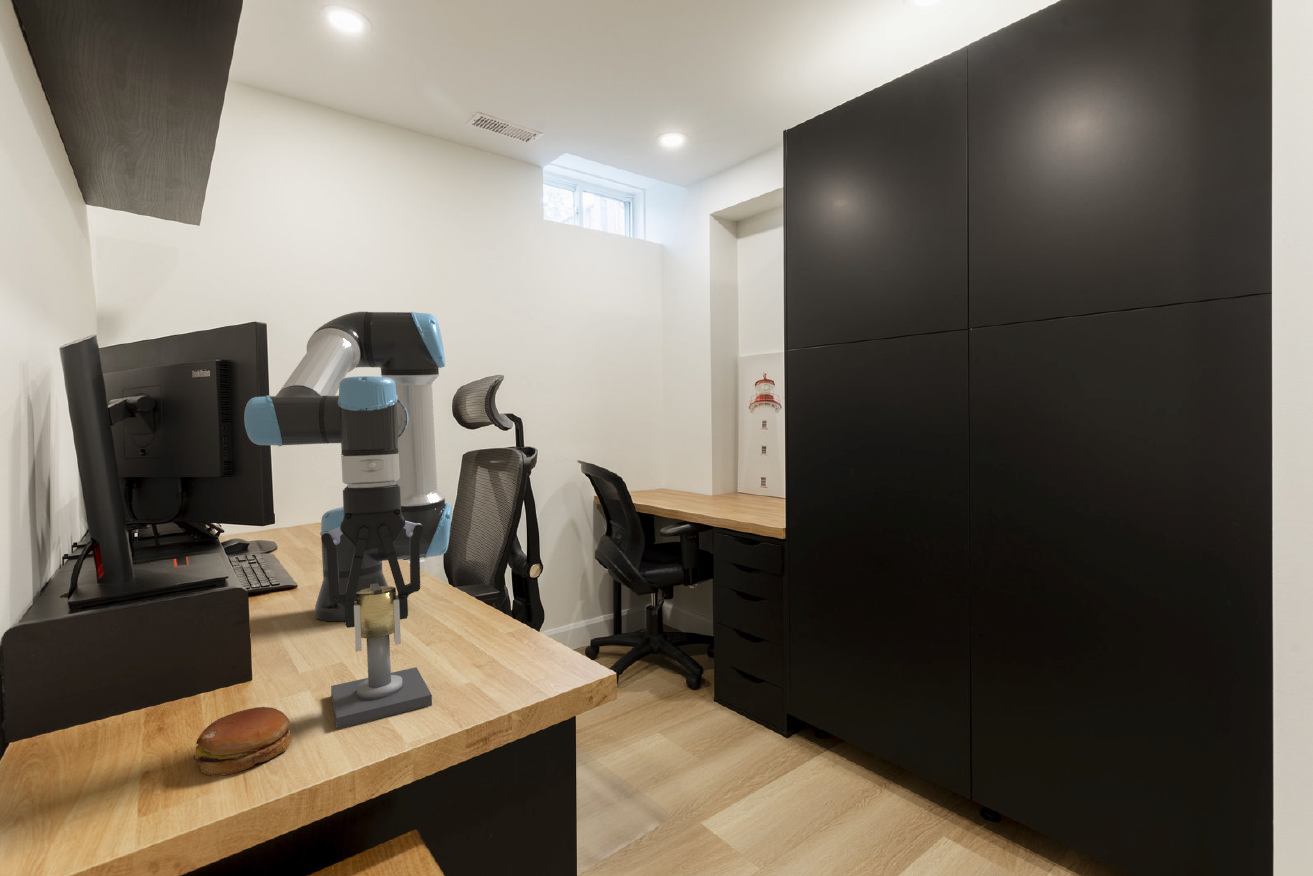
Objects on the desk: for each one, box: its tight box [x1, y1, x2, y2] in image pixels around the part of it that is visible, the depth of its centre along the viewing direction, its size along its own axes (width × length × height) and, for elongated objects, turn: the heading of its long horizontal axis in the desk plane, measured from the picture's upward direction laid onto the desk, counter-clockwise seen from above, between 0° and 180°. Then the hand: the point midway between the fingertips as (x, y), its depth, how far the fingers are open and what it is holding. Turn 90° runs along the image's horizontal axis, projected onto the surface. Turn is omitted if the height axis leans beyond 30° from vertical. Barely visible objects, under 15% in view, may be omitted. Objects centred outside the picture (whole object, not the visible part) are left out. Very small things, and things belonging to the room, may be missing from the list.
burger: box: [192, 706, 292, 777], centre depth 75 cm, size 10×9×5 cm
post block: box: [330, 635, 433, 730], centre depth 88 cm, size 12×12×10 cm
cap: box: [356, 583, 397, 639], centre depth 88 cm, size 5×5×7 cm
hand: (378, 644), depth 88 cm, fingers closed on cap, 4 cm apart
